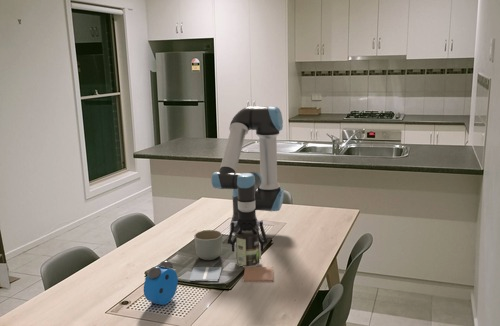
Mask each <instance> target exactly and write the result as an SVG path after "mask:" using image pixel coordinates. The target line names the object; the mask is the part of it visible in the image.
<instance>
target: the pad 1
mask: <svg viewBox="0 0 500 326" xmlns="http://www.w3.org/2000/svg"><path fill="white" fill-rule="evenodd" d="M222 269H223V268H222V266H193V268H192V270H191V273H190V277H189V279H188V281H189V280H217V279H219V280H220V278H221V273H222ZM219 277H220V278H219Z"/></svg>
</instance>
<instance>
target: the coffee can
mask: <svg viewBox="0 0 500 326" xmlns="http://www.w3.org/2000/svg"><path fill="white" fill-rule="evenodd" d="M237 232H238V231H236V232H235V234H234V235H236V242H235V243H236V256H237V259H236V265H237V266H238V265H239V266H238V267H240V266H243V267H242V268H245V267H258V265H259V264H260V262H261V261H260V259H259V243H260V242H259V241H258V240H259V239H258V236H259V235H260V232H259V230H257V234H254V233H253V232H252V230H251V231H244V230H242V232H241V234H237ZM259 266H260V265H259Z"/></svg>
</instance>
